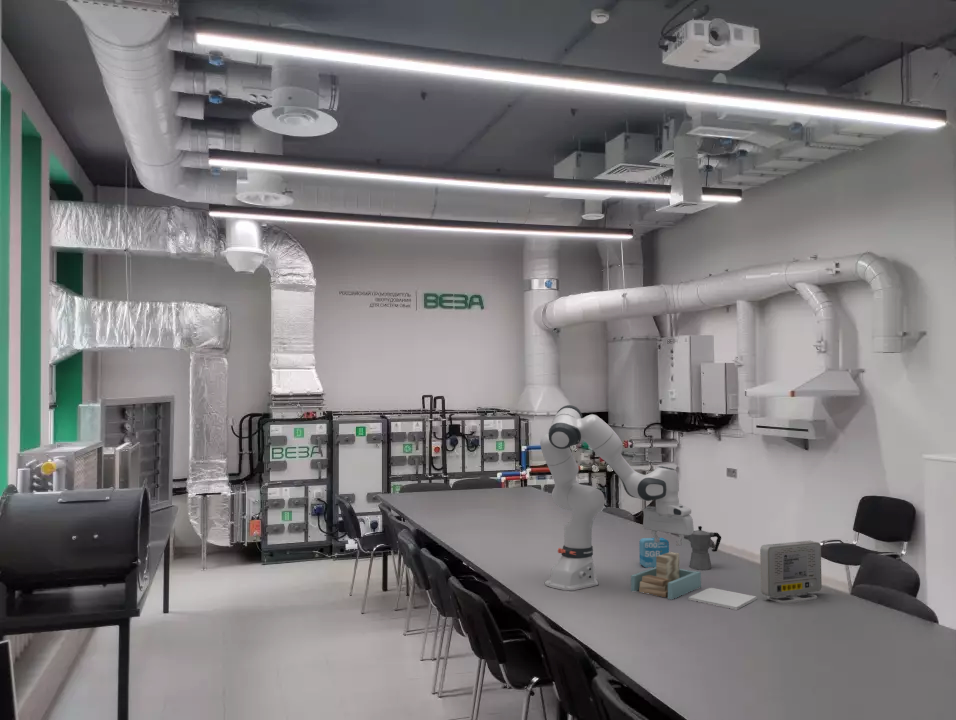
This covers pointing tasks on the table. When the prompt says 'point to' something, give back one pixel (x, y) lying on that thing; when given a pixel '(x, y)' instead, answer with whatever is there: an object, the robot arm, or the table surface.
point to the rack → (672, 582)
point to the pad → (723, 598)
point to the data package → (651, 550)
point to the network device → (790, 570)
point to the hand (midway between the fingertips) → (667, 543)
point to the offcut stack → (654, 585)
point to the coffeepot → (702, 548)
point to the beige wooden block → (668, 566)
